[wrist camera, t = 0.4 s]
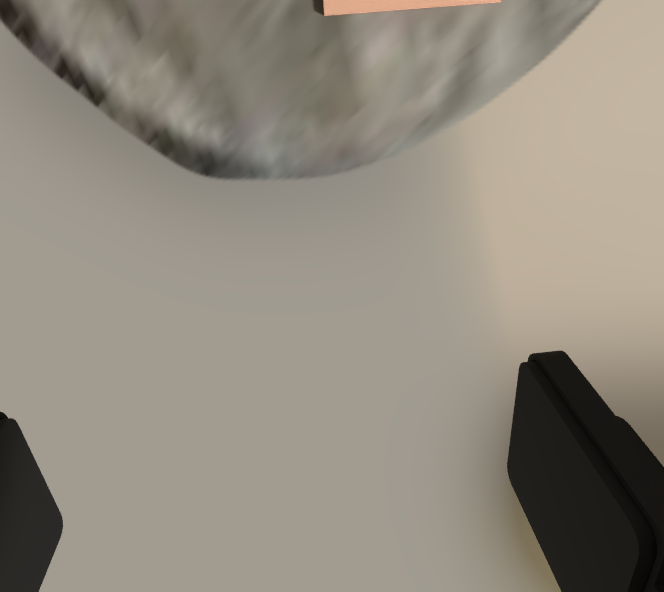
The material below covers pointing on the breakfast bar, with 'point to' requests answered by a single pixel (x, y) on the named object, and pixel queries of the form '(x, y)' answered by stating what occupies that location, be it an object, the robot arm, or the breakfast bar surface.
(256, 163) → the breakfast bar surface
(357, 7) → the terracotta tile
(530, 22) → the breakfast bar surface
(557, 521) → the robot arm
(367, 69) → the breakfast bar surface
